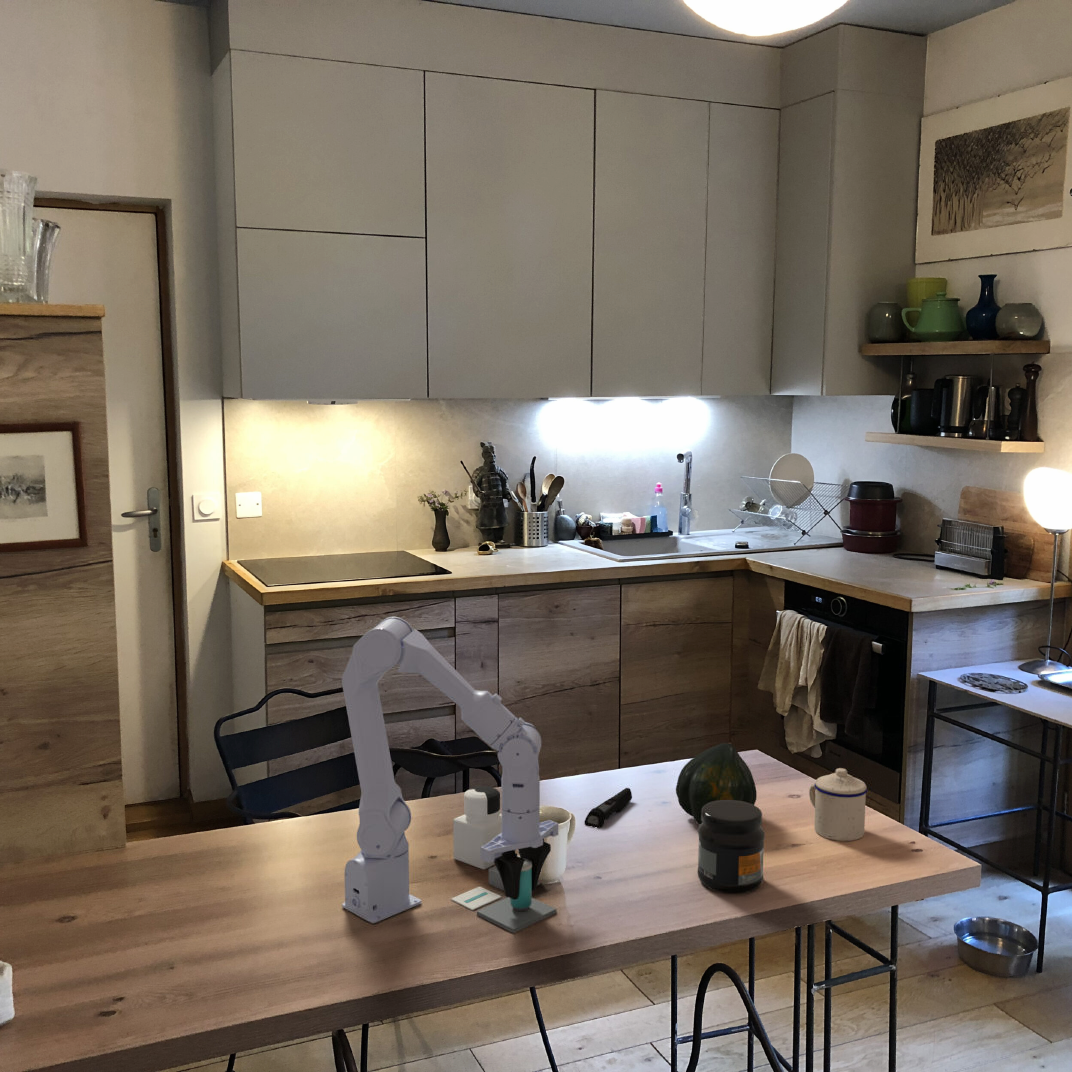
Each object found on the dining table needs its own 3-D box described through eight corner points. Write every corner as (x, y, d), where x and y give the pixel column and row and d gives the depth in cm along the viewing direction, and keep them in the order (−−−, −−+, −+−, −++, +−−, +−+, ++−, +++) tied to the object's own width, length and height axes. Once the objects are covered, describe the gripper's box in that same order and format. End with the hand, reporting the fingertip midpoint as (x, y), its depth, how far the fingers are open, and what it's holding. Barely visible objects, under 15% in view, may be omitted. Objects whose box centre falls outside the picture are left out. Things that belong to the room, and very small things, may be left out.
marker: (520, 914, 161) (520, 869, 160) (505, 907, 163) (505, 862, 162) (536, 907, 163) (536, 862, 162) (521, 900, 165) (521, 856, 165)
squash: (657, 801, 194) (715, 743, 191) (666, 776, 209) (719, 722, 205) (716, 857, 193) (775, 800, 189) (720, 828, 207) (775, 775, 204)
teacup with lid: (876, 836, 192) (879, 773, 191) (838, 846, 188) (841, 781, 186) (827, 813, 202) (830, 753, 201) (791, 822, 198) (793, 761, 197)
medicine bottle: (481, 845, 188) (480, 779, 186) (512, 856, 183) (512, 788, 182) (452, 859, 182) (452, 790, 181) (484, 870, 178) (483, 800, 176)
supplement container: (777, 886, 172) (779, 814, 171) (726, 902, 167) (728, 827, 165) (733, 862, 181) (734, 793, 180) (683, 876, 176) (685, 805, 174)
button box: (514, 895, 169) (514, 880, 168) (488, 883, 173) (488, 868, 173) (541, 883, 173) (541, 868, 173) (515, 872, 177) (515, 857, 177)
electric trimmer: (637, 804, 209) (637, 788, 208) (601, 830, 195) (601, 813, 195) (619, 800, 210) (620, 785, 210) (582, 826, 197) (582, 809, 197)
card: (472, 910, 164) (472, 908, 164) (450, 899, 167) (450, 898, 167) (501, 897, 168) (501, 896, 168) (479, 887, 171) (479, 886, 171)
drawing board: (513, 933, 157) (513, 929, 157) (476, 914, 162) (476, 911, 162) (556, 912, 163) (556, 908, 163) (519, 895, 169) (519, 891, 169)
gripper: (503, 827, 153) (504, 918, 155) (573, 800, 164) (572, 886, 165) (470, 814, 158) (471, 902, 160) (539, 789, 168) (539, 872, 170)
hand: (520, 893), depth 163 cm, fingers closed on marker, 3 cm apart
